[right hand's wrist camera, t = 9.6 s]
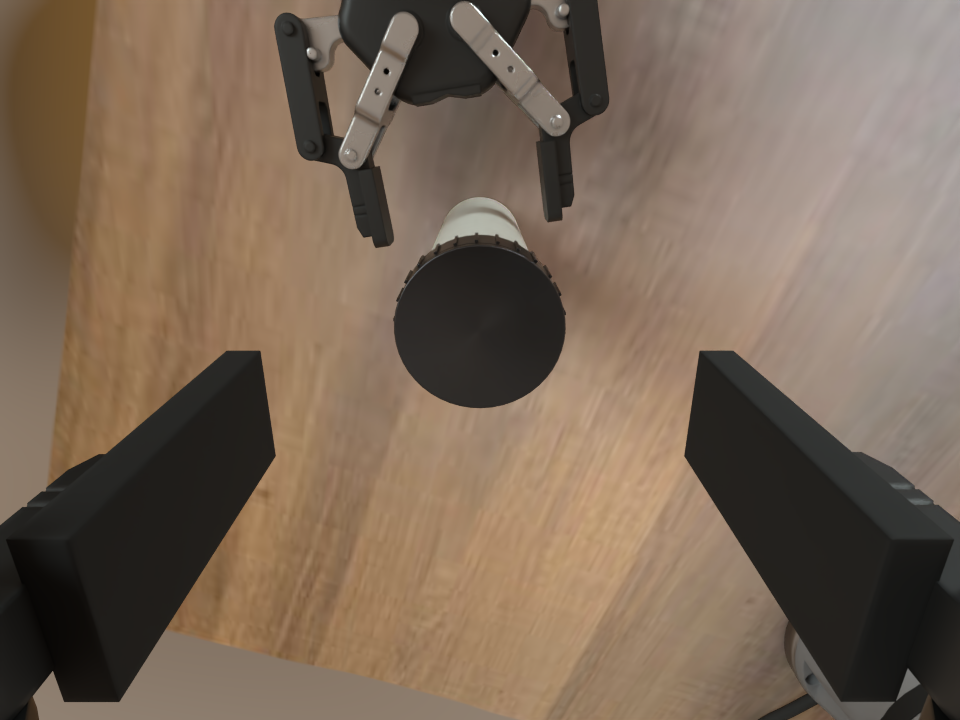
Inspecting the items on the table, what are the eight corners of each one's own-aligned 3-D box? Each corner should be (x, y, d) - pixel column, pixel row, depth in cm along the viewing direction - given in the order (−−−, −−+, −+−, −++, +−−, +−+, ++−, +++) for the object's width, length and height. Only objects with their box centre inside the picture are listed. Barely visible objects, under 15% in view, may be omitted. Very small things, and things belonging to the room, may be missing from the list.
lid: (428, 402, 22) (423, 428, 20) (377, 258, 20) (366, 271, 18) (575, 364, 21) (584, 386, 19) (537, 211, 19) (544, 220, 17)
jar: (453, 284, 37) (432, 408, 20) (430, 209, 35) (386, 277, 18) (527, 264, 36) (567, 373, 20) (507, 187, 35) (533, 235, 18)
